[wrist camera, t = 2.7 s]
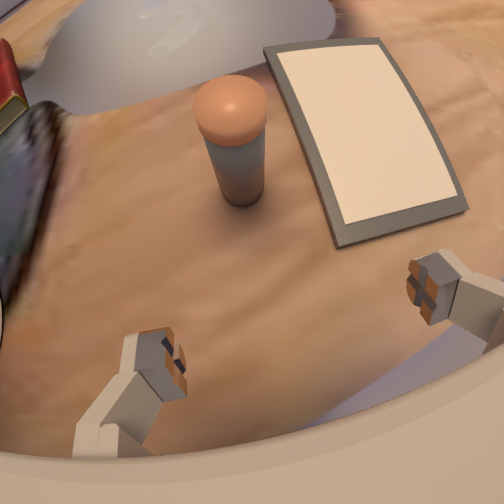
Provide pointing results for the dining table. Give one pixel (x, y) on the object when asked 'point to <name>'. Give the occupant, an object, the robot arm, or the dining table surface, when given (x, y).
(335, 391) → the dining table surface
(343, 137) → the writing board
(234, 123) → the marker
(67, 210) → the dining table surface
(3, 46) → the hardcover book
